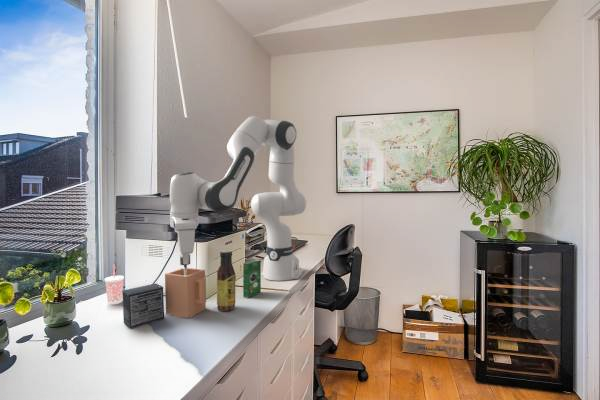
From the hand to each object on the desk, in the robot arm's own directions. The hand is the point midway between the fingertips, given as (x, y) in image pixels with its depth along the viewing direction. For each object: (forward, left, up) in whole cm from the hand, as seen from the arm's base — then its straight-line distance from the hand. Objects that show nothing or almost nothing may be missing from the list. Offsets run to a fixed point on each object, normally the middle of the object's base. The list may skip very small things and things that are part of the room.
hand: (185, 262), depth 111 cm
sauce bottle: (-7, +11, -17) cm, 22 cm away
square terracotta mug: (0, +1, -17) cm, 17 cm away
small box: (+11, -7, -17) cm, 22 cm away
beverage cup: (+3, -30, -17) cm, 35 cm away
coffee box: (-23, +12, -17) cm, 31 cm away
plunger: (0, 0, -14) cm, 14 cm away
